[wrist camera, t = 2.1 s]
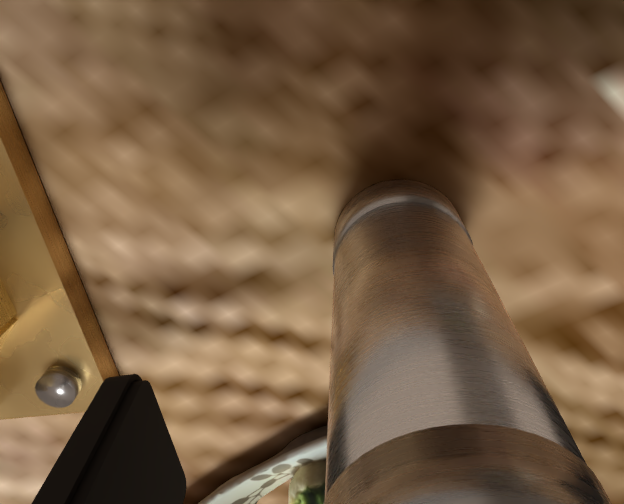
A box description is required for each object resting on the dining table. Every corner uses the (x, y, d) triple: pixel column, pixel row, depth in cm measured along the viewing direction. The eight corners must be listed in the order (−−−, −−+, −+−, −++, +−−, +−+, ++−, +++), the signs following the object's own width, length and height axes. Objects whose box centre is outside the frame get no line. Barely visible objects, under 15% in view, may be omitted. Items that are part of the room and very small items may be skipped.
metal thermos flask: (459, 170, 16) (713, 548, 5) (464, 287, 17) (660, 759, 7) (325, 188, 16) (283, 568, 5) (343, 301, 18) (339, 759, 7)
